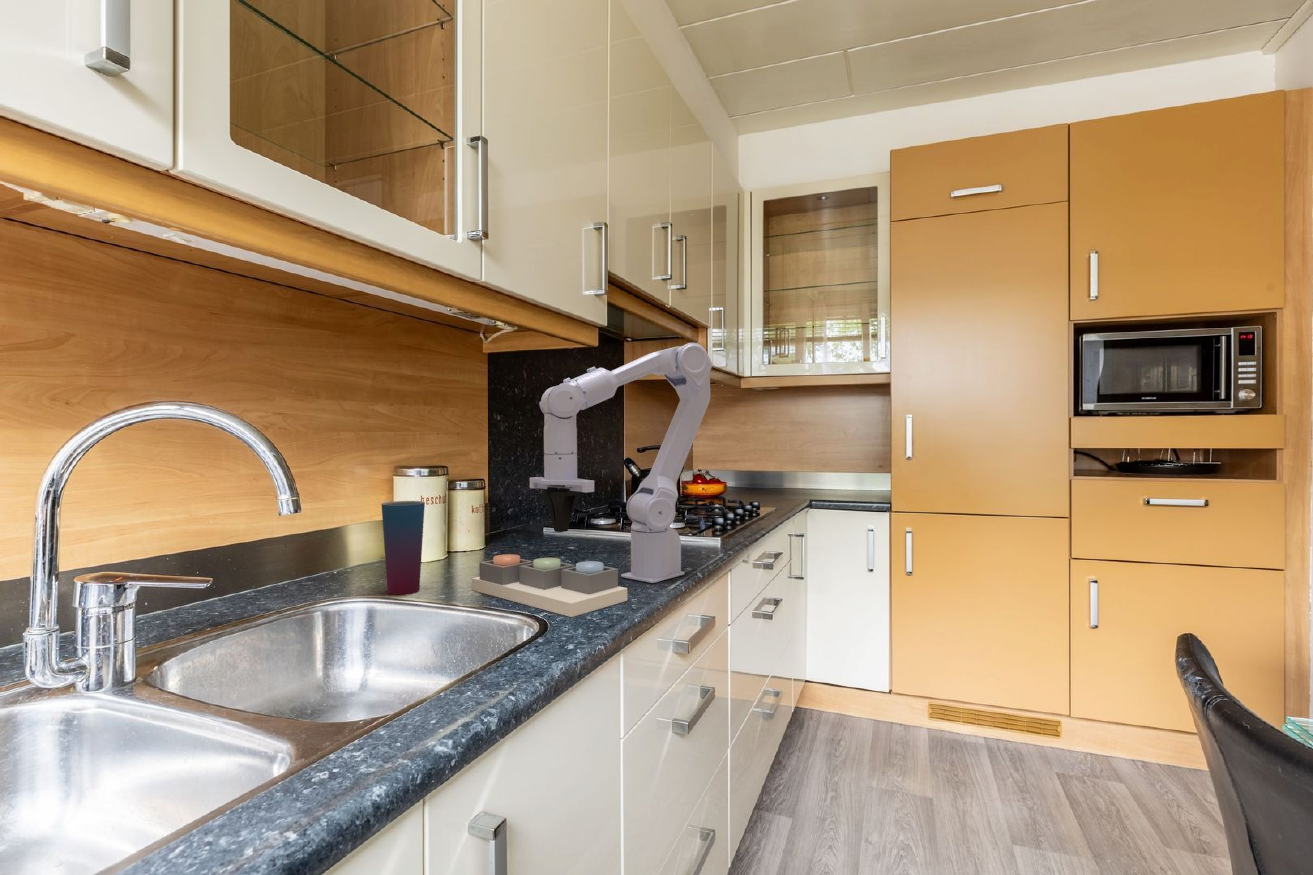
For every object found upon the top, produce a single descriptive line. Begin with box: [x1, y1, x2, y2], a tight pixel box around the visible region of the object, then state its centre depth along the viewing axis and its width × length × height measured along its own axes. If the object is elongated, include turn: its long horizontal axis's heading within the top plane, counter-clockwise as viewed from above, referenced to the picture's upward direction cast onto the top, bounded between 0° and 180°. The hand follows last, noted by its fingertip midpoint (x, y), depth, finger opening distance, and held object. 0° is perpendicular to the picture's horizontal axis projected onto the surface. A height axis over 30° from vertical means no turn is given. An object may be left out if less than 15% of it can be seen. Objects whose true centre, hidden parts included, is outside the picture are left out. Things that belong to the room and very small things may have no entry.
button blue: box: [575, 560, 604, 574], centre depth 103 cm, size 4×4×2 cm
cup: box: [381, 500, 426, 596], centre depth 109 cm, size 7×7×15 cm
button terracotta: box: [492, 553, 521, 567], centre depth 109 cm, size 4×4×2 cm
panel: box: [471, 558, 628, 618], centre depth 106 cm, size 12×25×5 cm, turn 50°
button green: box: [533, 557, 561, 570], centre depth 106 cm, size 4×4×2 cm
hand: (561, 531), depth 113 cm, fingers closed
